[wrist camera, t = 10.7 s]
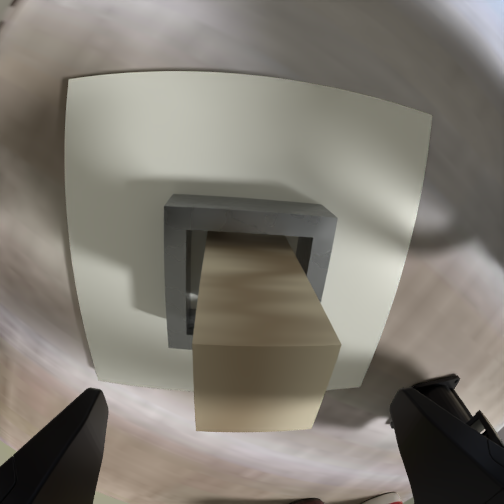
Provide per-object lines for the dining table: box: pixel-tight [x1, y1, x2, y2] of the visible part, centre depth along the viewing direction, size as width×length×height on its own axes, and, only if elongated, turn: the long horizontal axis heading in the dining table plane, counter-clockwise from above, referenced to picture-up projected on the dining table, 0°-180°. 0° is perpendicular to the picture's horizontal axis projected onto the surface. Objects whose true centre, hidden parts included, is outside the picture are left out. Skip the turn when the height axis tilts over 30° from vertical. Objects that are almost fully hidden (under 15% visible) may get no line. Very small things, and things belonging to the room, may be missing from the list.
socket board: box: [65, 71, 432, 391], centre depth 17 cm, size 20×20×1 cm
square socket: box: [164, 194, 338, 350], centre depth 16 cm, size 8×8×2 cm
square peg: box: [192, 231, 342, 432], centre depth 13 cm, size 4×4×9 cm
